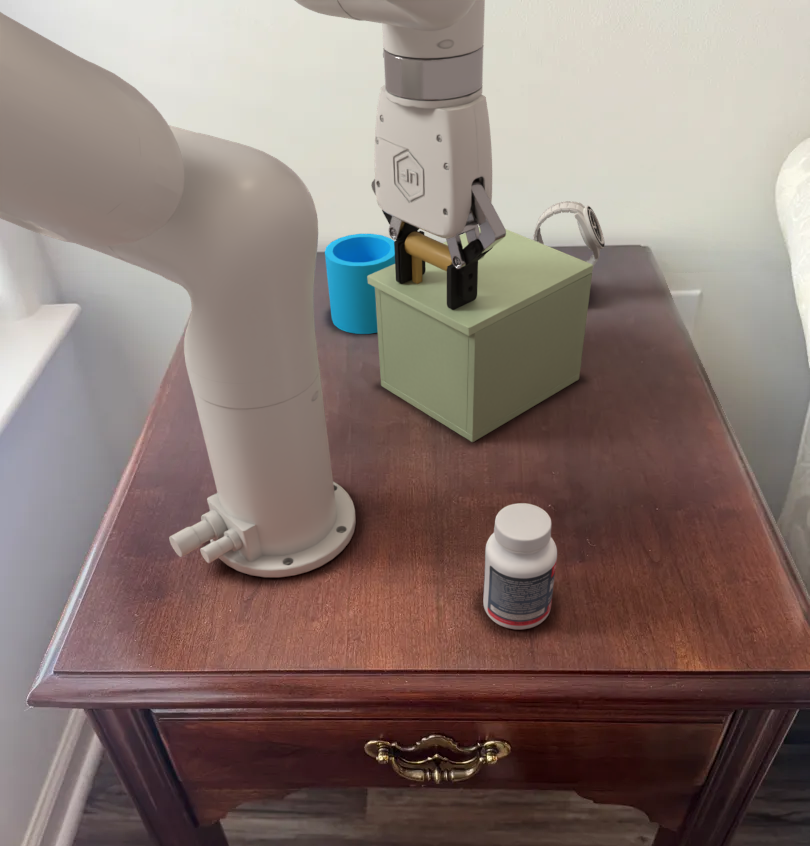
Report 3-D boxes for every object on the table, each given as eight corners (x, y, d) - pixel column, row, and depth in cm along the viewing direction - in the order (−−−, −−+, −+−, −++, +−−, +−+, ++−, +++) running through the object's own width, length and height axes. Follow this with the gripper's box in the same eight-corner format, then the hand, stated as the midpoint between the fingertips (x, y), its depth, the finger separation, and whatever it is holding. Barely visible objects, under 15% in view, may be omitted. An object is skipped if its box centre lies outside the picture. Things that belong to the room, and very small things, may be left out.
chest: (472, 442, 82) (475, 333, 73) (380, 386, 89) (374, 280, 81) (579, 379, 89) (592, 273, 81) (485, 331, 96) (489, 230, 88)
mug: (332, 336, 97) (325, 268, 91) (330, 301, 103) (324, 236, 97) (437, 328, 97) (437, 260, 92) (429, 294, 103) (428, 228, 98)
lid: (468, 336, 73) (469, 277, 69) (367, 283, 81) (363, 227, 77) (592, 272, 81) (599, 216, 77) (489, 229, 88) (491, 176, 84)
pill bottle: (560, 625, 65) (571, 540, 59) (493, 637, 64) (498, 553, 58) (538, 576, 69) (547, 492, 62) (475, 587, 68) (478, 503, 62)
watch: (596, 311, 99) (608, 217, 91) (526, 306, 100) (533, 214, 93) (598, 288, 103) (610, 196, 95) (531, 283, 104) (537, 193, 97)
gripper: (325, 62, 68) (344, 273, 81) (479, 109, 59) (473, 341, 71) (396, 42, 72) (404, 248, 84) (552, 84, 62) (534, 309, 74)
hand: (435, 289), depth 77 cm, fingers closed on lid, 6 cm apart
